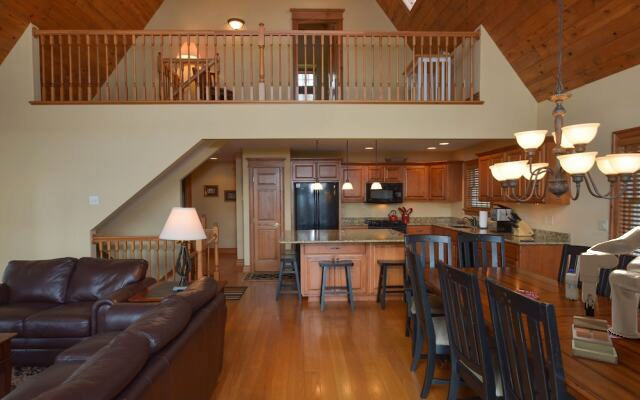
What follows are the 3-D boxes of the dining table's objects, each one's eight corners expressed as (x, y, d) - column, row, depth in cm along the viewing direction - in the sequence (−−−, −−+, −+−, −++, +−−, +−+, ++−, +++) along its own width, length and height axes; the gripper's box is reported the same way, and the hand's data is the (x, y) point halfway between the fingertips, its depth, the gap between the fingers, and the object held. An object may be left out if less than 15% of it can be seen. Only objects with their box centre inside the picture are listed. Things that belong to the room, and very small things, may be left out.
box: (572, 346, 162) (572, 339, 162) (614, 354, 154) (614, 347, 154) (572, 355, 153) (572, 348, 153) (617, 364, 145) (617, 357, 145)
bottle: (565, 297, 237) (565, 267, 237) (578, 299, 233) (577, 268, 233) (564, 299, 232) (564, 269, 232) (577, 301, 228) (577, 270, 228)
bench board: (572, 332, 179) (572, 324, 179) (607, 337, 171) (607, 329, 171) (573, 346, 162) (573, 337, 162) (612, 353, 155) (612, 344, 154)
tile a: (592, 334, 165) (592, 330, 165) (606, 336, 163) (606, 332, 163) (593, 338, 161) (593, 333, 161) (607, 340, 159) (607, 336, 158)
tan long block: (573, 325, 177) (573, 315, 177) (606, 330, 169) (606, 320, 169) (573, 327, 175) (573, 317, 175) (607, 332, 167) (607, 322, 167)
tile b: (576, 331, 169) (576, 327, 169) (589, 334, 166) (589, 329, 166) (576, 335, 165) (576, 331, 165) (589, 337, 162) (589, 333, 162)
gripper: (579, 274, 181) (579, 307, 181) (580, 281, 167) (580, 317, 167) (597, 276, 177) (597, 310, 177) (600, 283, 162) (600, 320, 163)
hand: (589, 313), depth 172 cm, fingers open, 9 cm apart
